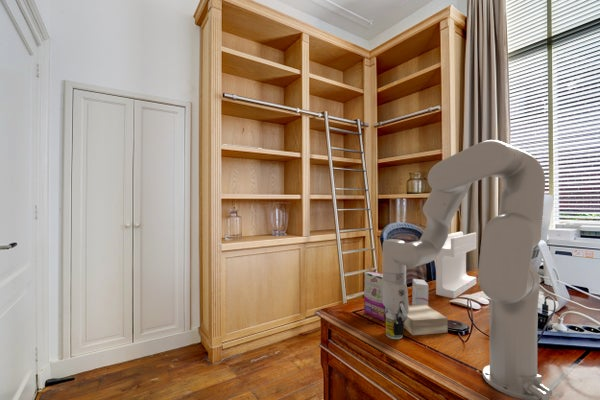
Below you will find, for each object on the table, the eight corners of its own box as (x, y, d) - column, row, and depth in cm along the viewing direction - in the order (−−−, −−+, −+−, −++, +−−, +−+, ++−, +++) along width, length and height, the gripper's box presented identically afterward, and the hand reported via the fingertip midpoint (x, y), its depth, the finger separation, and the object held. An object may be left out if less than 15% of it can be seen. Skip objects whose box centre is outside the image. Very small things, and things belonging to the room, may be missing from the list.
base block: (447, 332, 99) (447, 318, 99) (412, 335, 97) (412, 320, 97) (425, 317, 112) (425, 304, 112) (394, 319, 110) (394, 306, 110)
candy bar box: (394, 319, 109) (394, 276, 109) (385, 322, 107) (385, 278, 107) (372, 310, 119) (372, 270, 119) (363, 312, 116) (363, 272, 116)
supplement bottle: (403, 334, 97) (403, 306, 97) (400, 341, 92) (401, 311, 92) (387, 331, 100) (387, 303, 100) (384, 337, 95) (384, 308, 95)
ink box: (428, 314, 115) (429, 284, 115) (415, 313, 116) (415, 283, 116) (424, 306, 123) (424, 279, 123) (411, 305, 124) (411, 278, 124)
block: (460, 280, 163) (460, 231, 163) (476, 283, 157) (476, 232, 157) (436, 294, 139) (436, 236, 139) (453, 298, 133) (454, 238, 133)
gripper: (419, 283, 88) (418, 342, 88) (392, 270, 105) (392, 319, 105) (396, 284, 87) (396, 344, 87) (373, 270, 104) (372, 320, 104)
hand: (394, 330), depth 96 cm, fingers closed on supplement bottle, 5 cm apart
